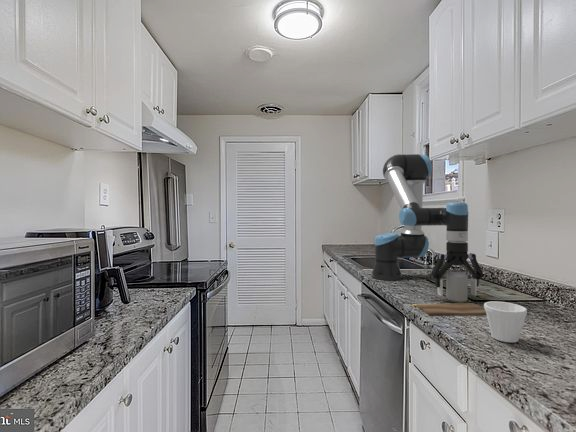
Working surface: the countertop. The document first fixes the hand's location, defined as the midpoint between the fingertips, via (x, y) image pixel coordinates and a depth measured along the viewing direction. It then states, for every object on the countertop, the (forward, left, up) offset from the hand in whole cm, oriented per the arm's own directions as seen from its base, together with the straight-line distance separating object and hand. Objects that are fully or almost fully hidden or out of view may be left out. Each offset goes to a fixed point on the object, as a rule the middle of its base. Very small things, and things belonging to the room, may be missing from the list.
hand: (456, 295), depth 126 cm
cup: (+37, -7, -2) cm, 38 cm away
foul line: (+5, -8, -2) cm, 10 cm away
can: (0, 0, -2) cm, 2 cm away
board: (+12, -8, -2) cm, 15 cm away
